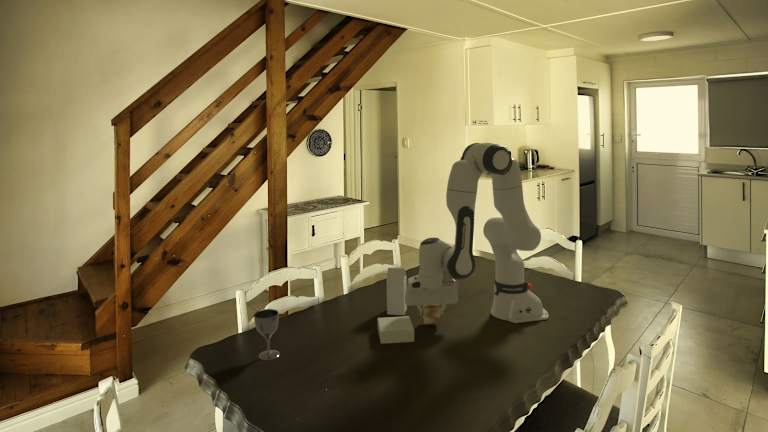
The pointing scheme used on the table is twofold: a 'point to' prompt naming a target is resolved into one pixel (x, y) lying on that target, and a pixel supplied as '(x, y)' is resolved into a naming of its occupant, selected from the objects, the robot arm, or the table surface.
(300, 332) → the table surface
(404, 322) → the sage block
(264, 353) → the wine glass
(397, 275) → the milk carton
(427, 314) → the oak cube
